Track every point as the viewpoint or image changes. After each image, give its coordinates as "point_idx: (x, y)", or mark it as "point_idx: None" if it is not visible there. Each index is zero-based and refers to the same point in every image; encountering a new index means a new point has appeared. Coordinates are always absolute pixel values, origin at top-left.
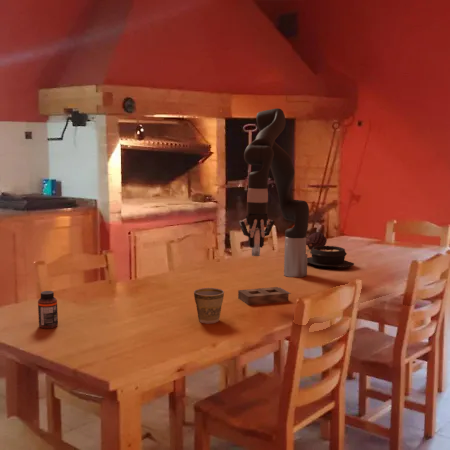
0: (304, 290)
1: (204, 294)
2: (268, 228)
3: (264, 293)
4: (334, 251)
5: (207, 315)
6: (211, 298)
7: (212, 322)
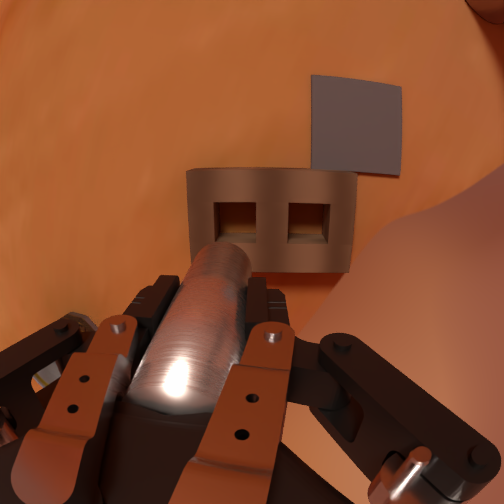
0: (456, 148)
1: None
2: (349, 456)
3: (265, 248)
4: None
5: None
6: None
7: None
